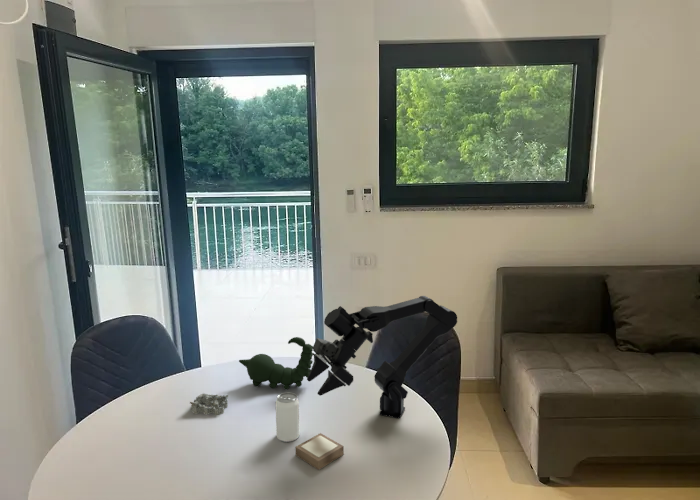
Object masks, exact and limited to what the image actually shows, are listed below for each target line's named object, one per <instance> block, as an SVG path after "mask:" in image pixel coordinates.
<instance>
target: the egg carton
mask: <svg viewBox="0 0 700 500" xmlns="http://www.w3.org/2000/svg"><path fill="white" fill-rule="evenodd" d="M228 400H229V394H226V395H221V394H220V395H219V394H208V393H202V394H199V395H197V396H196V398H195V399H193V401H189V404H190V405H191V412H192V413H193V414H194V415H198V414H200V413H203V414H204V415H209V414H214V415H215V416H219V415H221V414H224V413H225V409H227V408H228V407H229V406H228V405H229V402H228ZM208 406H209V407H208Z"/></svg>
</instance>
